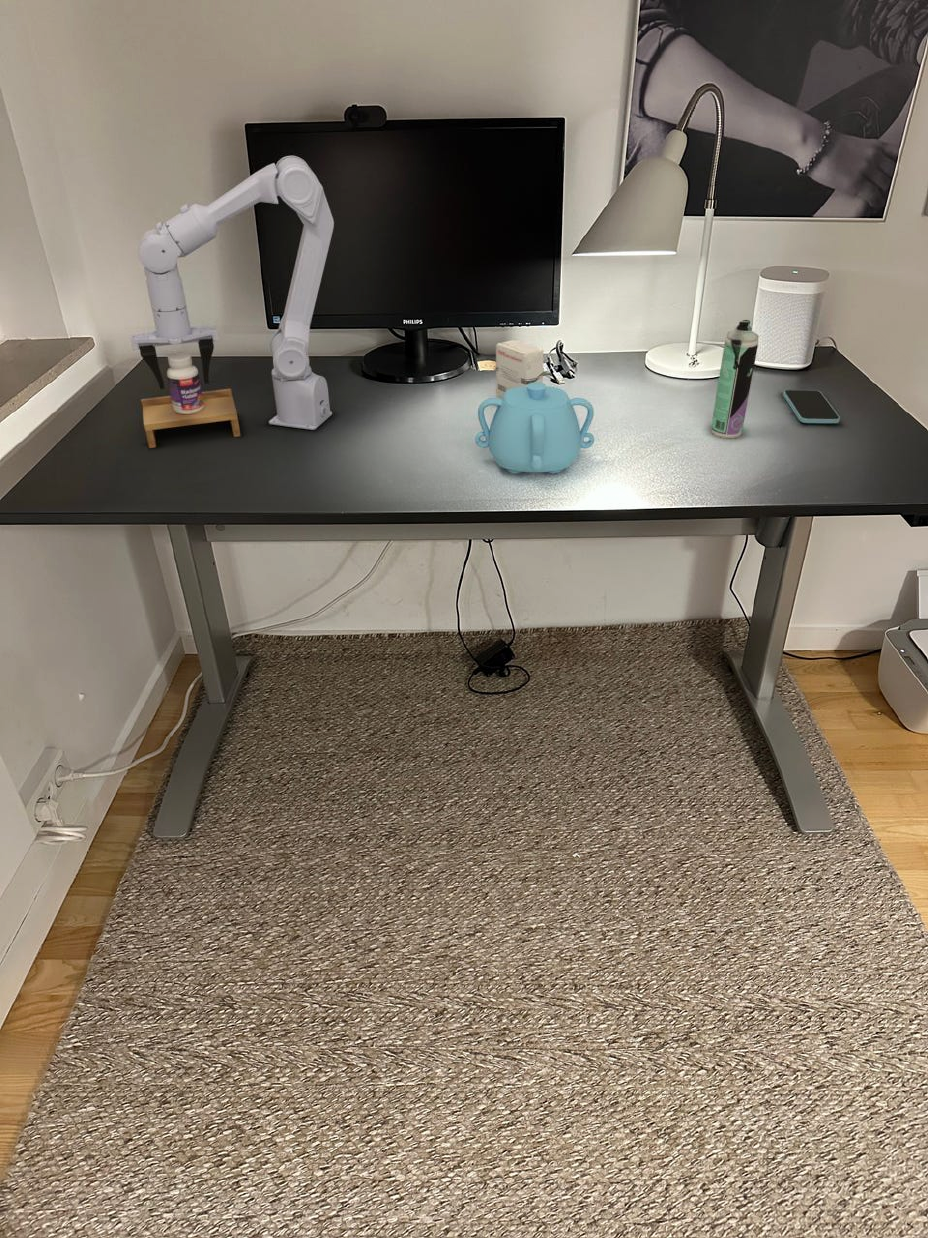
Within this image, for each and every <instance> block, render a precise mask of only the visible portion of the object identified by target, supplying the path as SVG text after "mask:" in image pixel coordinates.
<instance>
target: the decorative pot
mask: <svg viewBox="0 0 928 1238" xmlns="http://www.w3.org/2000/svg"><path fill="white" fill-rule="evenodd" d="M490 406H497V407H496V409H495V411H494V414H493V416H492V419H491V423H490V428H489V425H488V424H487V421H486V416H485V409H486V408H487V407H490ZM574 406H581V407H584V408H585V409H586V410H587V413H586V417H585V419H584V420H585V421H584V422H583V424H582V426H581V427H580V422H579V419H578V415H577V413H576V410H575V408H574ZM594 415H595V411H594V407H593V404H592V403H591V402H590V401H589V400H587V399H585V398H583V397H573V398H570V397H569V395H568V393H567V392H566V391H565V390H564V389H562V388H559V387H555V386H547V384H545V383H544V382H543V383H539V382H533V383H530V384H528V385H527V386H522V387H515V388H511V389H509V390H507V391H506V392H505V394H504V395H503V397H502V399H499V398H496V397H490V398H486V399H485V400H483V401H482V402H481V403H480V404H479V405H478V409H477V418H478V421H479V425H480V427H481V430H482V431H479V432H478V433H476V435H475V437H474V438H475V439H474V441H475V444H476V445H477V446H478V447H480V448H482V449H487V448H488V449H489V452H490V454H491V456H492V458H493V459H494V461H495V462H496V464H497V465H498V466H500V467H501V468H503V469H506V470H507V472H509V473H511V474H520V473H523V472H524V473H549V474H559V473H561V472H562V470H564V469H568V468H569V467H571V466H572V465H573V463H575V461H576V459H577V458H578V457H579V455H580V453H581V449H589V448H592V446H593V445H594V443H595V436H594V435H593V434H592V432H588V430H589V429H590V427H591V425H592V422H593V419H594ZM482 437H485V440H482V439H481V438H482ZM585 438H588V440H587V441H585Z"/></svg>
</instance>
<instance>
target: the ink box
mask: <svg viewBox="0 0 928 1238" xmlns="http://www.w3.org/2000/svg"><path fill="white" fill-rule="evenodd" d="M543 379H544V349H541V348H538V347H536V346H533V345H531V344H527V343H525V342H521V341H520V340H516V339H511V340H508V341H503V342H498V343H497V344H495V398H499V399H502V397H503V395H504V394H505V392H506V391H507V390H509V389H511V388H515V387H522V386H527V385H528V384H530V383H533V382H539V383H543V384H544V382H543V381H544V380H543Z"/></svg>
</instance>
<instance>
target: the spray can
mask: <svg viewBox="0 0 928 1238" xmlns="http://www.w3.org/2000/svg"><path fill="white" fill-rule="evenodd" d="M750 325H751V321H750V320H749V319H743V320H741V321H739V323H738V325H737V326H736V327H735V328H734V329H733V330H730V331H728V332H727V333H726V337H725V338H724V345H723V352H722V358H721V363H720V370H719V375H718V383H717V389H716V396H715V401H714V408H713V412H712V413H713V414H712V419H711V426H710V432H711V434H712V435H714V436H715V437H718V438H723V439H736V438H739V437H741V436H742V435H743V430H744V424H745V418H746V412H747V407H748V401H749V397H750V391H751V385H752V381H753V374H754V368H755V363H756V358H757V354H758V353H757V352H758V347H759V337H760V336H759V334H758V333H756V332H754V331H753V328H752V327H751V326H750Z"/></svg>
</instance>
